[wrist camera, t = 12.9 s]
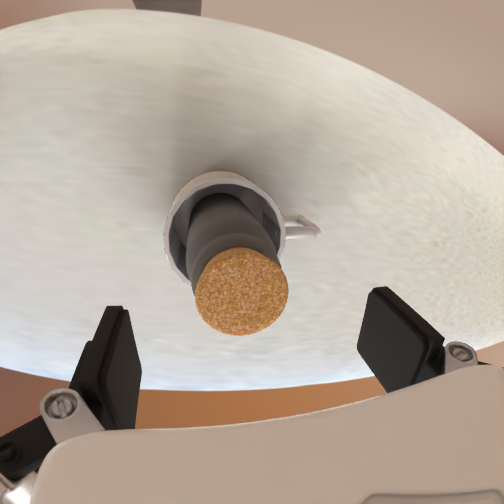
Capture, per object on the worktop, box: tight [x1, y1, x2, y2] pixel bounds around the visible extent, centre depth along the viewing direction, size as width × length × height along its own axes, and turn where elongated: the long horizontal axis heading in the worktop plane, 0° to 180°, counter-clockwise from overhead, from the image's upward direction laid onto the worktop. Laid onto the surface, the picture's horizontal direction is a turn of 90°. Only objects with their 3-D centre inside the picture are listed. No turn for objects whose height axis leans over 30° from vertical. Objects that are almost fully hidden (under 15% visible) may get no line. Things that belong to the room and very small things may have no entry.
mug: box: [163, 171, 321, 287], centre depth 26 cm, size 13×9×7 cm
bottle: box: [186, 193, 288, 336], centre depth 22 cm, size 6×6×15 cm
